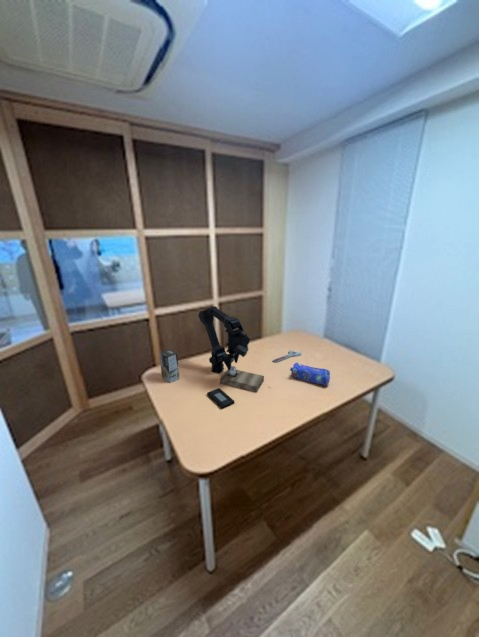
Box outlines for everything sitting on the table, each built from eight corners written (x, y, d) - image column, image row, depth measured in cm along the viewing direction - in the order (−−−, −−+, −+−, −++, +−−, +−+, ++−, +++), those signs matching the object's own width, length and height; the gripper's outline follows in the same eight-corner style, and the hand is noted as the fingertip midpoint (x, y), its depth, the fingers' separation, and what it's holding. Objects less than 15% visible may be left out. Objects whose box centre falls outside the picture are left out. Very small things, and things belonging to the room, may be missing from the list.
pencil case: (288, 378, 152) (290, 364, 149) (293, 372, 159) (294, 358, 156) (327, 389, 142) (329, 374, 139) (330, 381, 149) (332, 367, 146)
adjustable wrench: (267, 359, 176) (267, 356, 176) (295, 350, 189) (296, 348, 188) (274, 364, 170) (274, 361, 169) (303, 355, 182) (304, 352, 181)
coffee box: (179, 378, 150) (177, 353, 145) (170, 383, 145) (167, 357, 140) (170, 373, 156) (168, 348, 151) (161, 377, 151) (159, 352, 146)
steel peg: (228, 380, 149) (228, 368, 146) (231, 377, 152) (231, 365, 149) (234, 382, 147) (234, 369, 145) (236, 379, 150) (236, 366, 148)
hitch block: (220, 383, 146) (220, 377, 145) (229, 373, 157) (229, 368, 155) (256, 392, 138) (257, 386, 137) (263, 381, 149) (264, 375, 147)
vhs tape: (219, 391, 140) (219, 387, 139) (234, 404, 129) (234, 401, 128) (207, 395, 135) (207, 392, 135) (222, 410, 124) (222, 406, 124)
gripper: (239, 350, 131) (239, 377, 135) (252, 337, 147) (251, 361, 152) (220, 346, 135) (220, 372, 140) (234, 334, 151) (234, 358, 156)
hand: (232, 366), depth 147 cm, fingers open, 9 cm apart
